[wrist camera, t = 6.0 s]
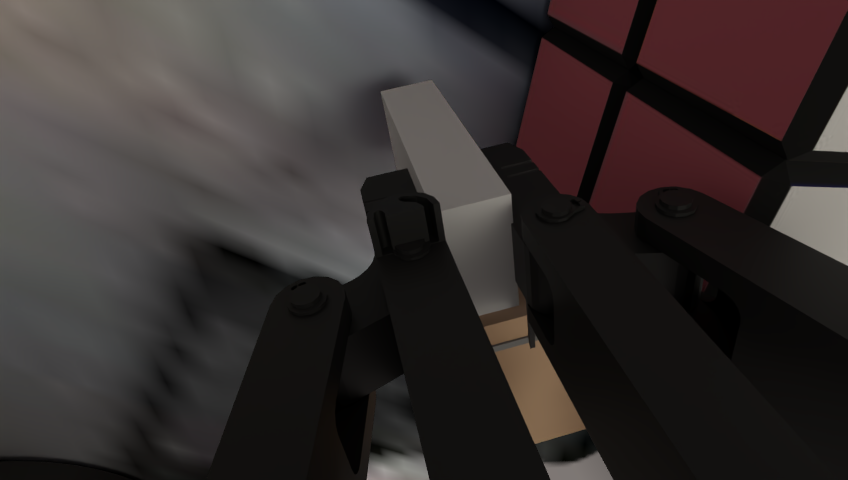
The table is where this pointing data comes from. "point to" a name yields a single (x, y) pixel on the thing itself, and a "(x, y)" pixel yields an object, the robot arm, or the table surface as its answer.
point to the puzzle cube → (698, 108)
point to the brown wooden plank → (530, 375)
